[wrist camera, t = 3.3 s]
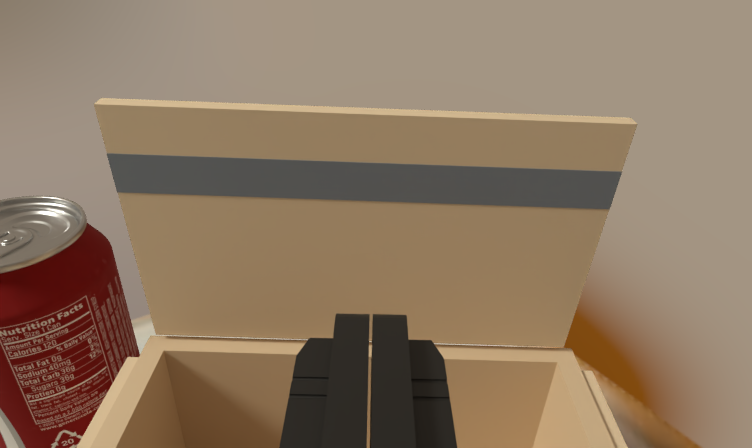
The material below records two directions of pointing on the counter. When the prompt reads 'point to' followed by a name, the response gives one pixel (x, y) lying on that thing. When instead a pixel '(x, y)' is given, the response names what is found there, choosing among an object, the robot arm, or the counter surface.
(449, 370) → the carton
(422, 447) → the robot arm
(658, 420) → the counter surface
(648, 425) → the counter surface
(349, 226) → the flap
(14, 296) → the soda can
